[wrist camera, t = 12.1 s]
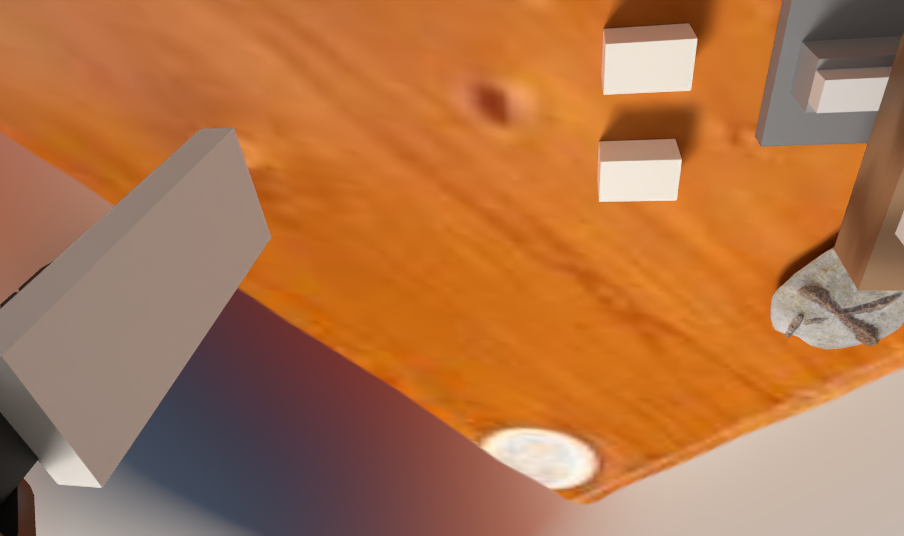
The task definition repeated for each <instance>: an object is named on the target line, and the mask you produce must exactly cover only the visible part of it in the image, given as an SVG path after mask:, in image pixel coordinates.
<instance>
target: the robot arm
mask: <svg viewBox="0 0 904 536" xmlns="http://www.w3.org/2000/svg"><path fill="white" fill-rule="evenodd" d="M895 234H896V236H897V237H898V238H899V240H900V241H901V242H902V244H903V245H904V212H903V214H902V217H901V220H900V222H899V225H898V227H897V230H896V232H895ZM270 239H271V235H270V232H269V229H268V226H267V223H266V220H265V217H264V214H263V212H262V209H261V206H260V203H259V200H258V197H257V194H256V191H255V188H254V185H253V182H252V179H251V176H250V173H249V171H248V168H247V165H246V162H245V159H244V156H243V153H242V150H241V147H240V144H239V141H238V138H237V135H236V132H235V129H234V128H213V129H200V130H199V131H198V132H197V133H195V134H194V135H193V136H192V137H191V138H190V139H189V140H188V141H187V142H185V143H184V144H183V145H182V146H181V147H180V148H179V149H178V150H177V151H175V152H174V153H173V154H172V155H171V156H170V157H169V158H168V159H166V160H165V161H164V162H163V163H162V164H161V165H160V166H159V167H158V168H156V169H155V170H154V171H153V172H152V173H151V174H150V175H149V176H148V177H146V178H145V179H144V180H143V181H142V182H141V183H140V184H139V185H138V186H136V187H135V188H134V189H133V190H132V191H131V192H130V193H129V194H128V195H126V196H125V197H124V198H123V199H122V200H121V201H120V202H119V203H118V204H116V205H115V206H114V207H113V208H112V209H111V210H110V211H109V212H108V213H106V214H105V215H104V216H103V217H102V218H101V219H100V220H99V221H98V222H97V223H95V224H94V225H93V226H92V227H91V228H90V229H89V230H88V231H86V232H85V233H84V234H83V235H82V236H81V237H80V238H79V239H78V240H76V241H75V242H74V243H73V244H72V245H71V246H70V247H69V248H68V249H66V250H65V251H64V252H63V253H62V254H61V255H60V256H59V257H58V258H56V259H55V260H54V261H53V262H51V263H49V264H48V265H46V266H44V267H43V268H41V269H40V270H39V271H38V272H36V273H35V274H34V275H33V276H32V277H31V278H30V279H29V280H28V281H27V282H25V283H24V284H23V285H22V286H21V287H20V288H19V292H18V293H17V292H14V293H13V294H12V295H11V296H10V297H8V298H7V299H6V300H5V301H4V302H3V303H2V304H1V305H0V306H1V308H0V536H36V528H35V507H34V506H35V505H34V494H33V492H32V489H31V487H30V485H29V484H28V483H27V482H26V481H25V480H24V477H25V475H26V474H27V473H28V472H29V470H30V469H31V468H32V467H33V465H34V464H35V463H36V462H37V460H38V461H39V462H40V463H41V464H42V466H43V467H44V468H45V469H46V470H47V472H48V473H49V474H50V475H51V476H52V478H53V479H54V480H55V481H56V482H57V484H60V485H73V486H85V487H98V488H103V486H104V485H105V483H106V482H107V480H108V479H109V477H110V476H111V474H112V473H113V472H114V470H115V469H116V467H117V466H118V464H119V462H120V461H121V460H122V458H123V457H124V455H125V454H126V452H127V451H128V449H129V448H130V446H131V445H132V443H133V442H134V440H135V439H136V437H137V436H138V434H139V433H140V431H141V430H142V429H143V427H144V426H145V424H146V423H147V421H148V420H149V418H150V417H151V415H152V414H153V412H154V411H155V409H156V408H157V406H158V405H159V403H160V402H161V400H162V399H163V397H164V396H165V394H166V393H167V391H168V390H169V388H170V387H171V385H172V384H173V383H174V381H175V380H176V378H177V377H178V375H179V374H180V372H181V371H182V369H183V368H184V366H185V365H186V363H187V362H188V360H189V359H190V357H191V356H192V354H193V353H194V351H195V350H196V348H197V347H198V345H199V344H200V342H201V341H202V339H203V338H204V337H205V335H206V333H207V332H208V331H209V329H210V328H211V326H212V324H213V323H214V322H215V320H216V319H217V317H218V316H219V314H220V313H221V311H222V310H223V308H224V307H225V305H226V304H227V302H228V301H229V299H230V298H231V296H232V295H233V294H234V292H235V290H236V289H237V288H238V286H239V285H240V283H241V282H242V280H243V279H244V277H245V276H246V274H247V273H248V271H249V270H250V268H251V267H252V265H253V264H254V262H255V261H256V259H257V258H258V256H259V255H260V253H261V252H262V251H263V249H264V248H265V246H266V245H267V243H268V242H269V240H270Z"/></svg>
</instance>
